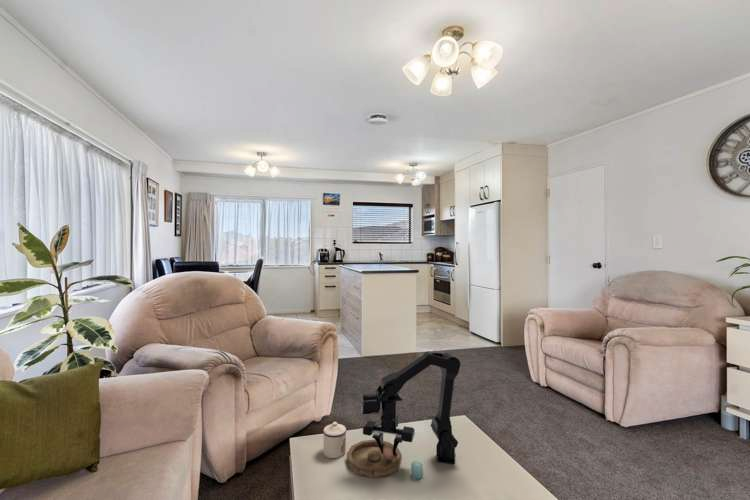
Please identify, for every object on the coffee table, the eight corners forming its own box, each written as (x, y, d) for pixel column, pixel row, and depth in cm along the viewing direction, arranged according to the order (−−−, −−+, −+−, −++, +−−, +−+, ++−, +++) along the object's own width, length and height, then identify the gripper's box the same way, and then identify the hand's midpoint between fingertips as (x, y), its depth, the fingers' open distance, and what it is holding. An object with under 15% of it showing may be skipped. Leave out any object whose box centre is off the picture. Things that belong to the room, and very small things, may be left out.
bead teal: (423, 473, 126) (423, 462, 126) (421, 480, 122) (421, 468, 122) (412, 471, 127) (412, 460, 127) (410, 478, 123) (410, 466, 123)
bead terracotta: (394, 454, 133) (394, 444, 133) (392, 460, 129) (392, 449, 129) (384, 452, 134) (384, 442, 134) (381, 458, 130) (381, 447, 130)
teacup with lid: (346, 458, 134) (347, 427, 134) (322, 459, 133) (322, 429, 133) (345, 441, 146) (345, 413, 146) (323, 442, 145) (323, 414, 145)
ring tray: (405, 451, 140) (405, 444, 140) (393, 482, 120) (393, 474, 120) (357, 442, 145) (357, 436, 145) (339, 471, 126) (339, 464, 126)
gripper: (417, 406, 137) (416, 446, 136) (371, 400, 142) (370, 439, 142) (412, 419, 126) (411, 463, 126) (362, 412, 131) (362, 454, 131)
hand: (388, 454), depth 131 cm, fingers closed on bead terracotta, 4 cm apart
